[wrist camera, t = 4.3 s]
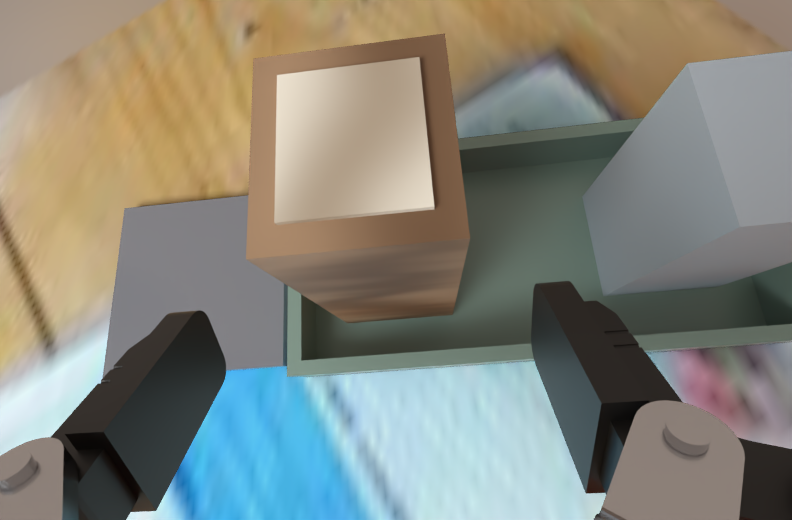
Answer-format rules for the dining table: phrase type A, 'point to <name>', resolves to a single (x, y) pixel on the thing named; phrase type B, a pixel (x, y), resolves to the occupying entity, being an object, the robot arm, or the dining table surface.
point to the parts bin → (535, 272)
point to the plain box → (700, 182)
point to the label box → (359, 179)
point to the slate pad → (197, 281)
